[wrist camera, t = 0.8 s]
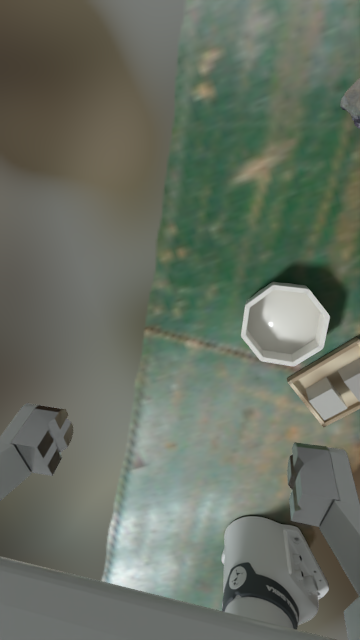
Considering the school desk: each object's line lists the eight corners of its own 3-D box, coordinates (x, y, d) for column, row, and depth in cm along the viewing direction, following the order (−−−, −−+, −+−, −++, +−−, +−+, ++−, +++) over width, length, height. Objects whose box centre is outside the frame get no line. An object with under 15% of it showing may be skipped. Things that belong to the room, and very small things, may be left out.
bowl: (338, 327, 51) (345, 335, 46) (273, 367, 55) (274, 378, 51) (291, 267, 50) (293, 269, 46) (229, 312, 54) (226, 318, 50)
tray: (394, 384, 50) (398, 389, 49) (321, 422, 55) (323, 427, 54) (356, 336, 50) (359, 339, 49) (286, 378, 55) (287, 382, 53)
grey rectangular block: (375, 376, 50) (385, 388, 46) (352, 389, 52) (359, 402, 48) (360, 357, 50) (368, 367, 46) (337, 370, 52) (343, 381, 47)
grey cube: (340, 395, 52) (347, 408, 48) (319, 406, 54) (324, 420, 50) (326, 376, 52) (331, 388, 48) (305, 388, 54) (308, 401, 50)
